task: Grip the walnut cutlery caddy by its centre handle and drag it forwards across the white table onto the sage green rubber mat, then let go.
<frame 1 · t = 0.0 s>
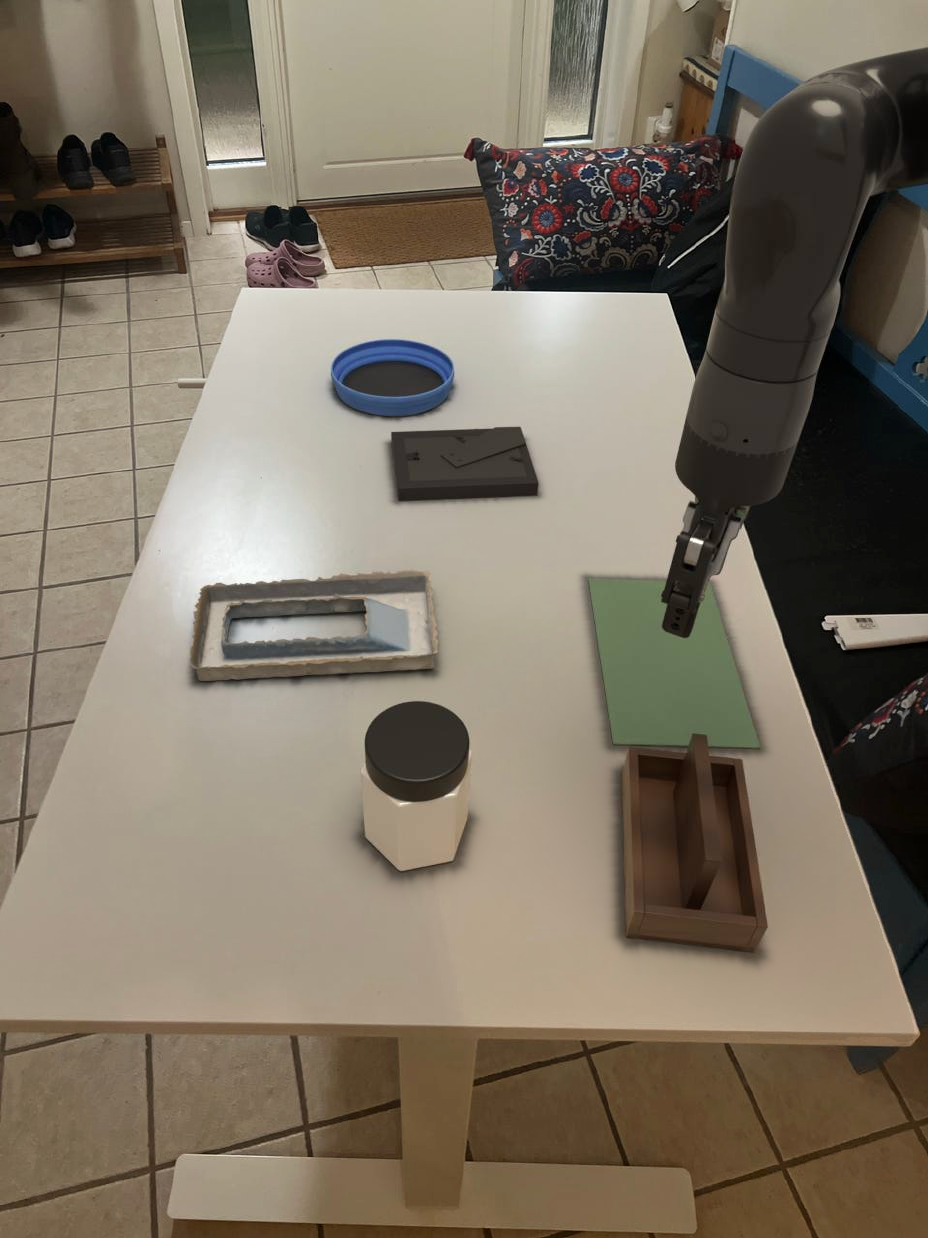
hand: (692, 599, 70), 19 cm above the table, tool pointing down, fingers open, 8 cm apart
picture frame 2: (316, 636, 93), on the table
jar: (416, 829, 76), on the table
cutlery caddy: (682, 856, 75), on the table
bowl: (393, 389, 132), on the table
mat: (665, 656, 93), on the table
picture frame: (462, 470, 117), on the table
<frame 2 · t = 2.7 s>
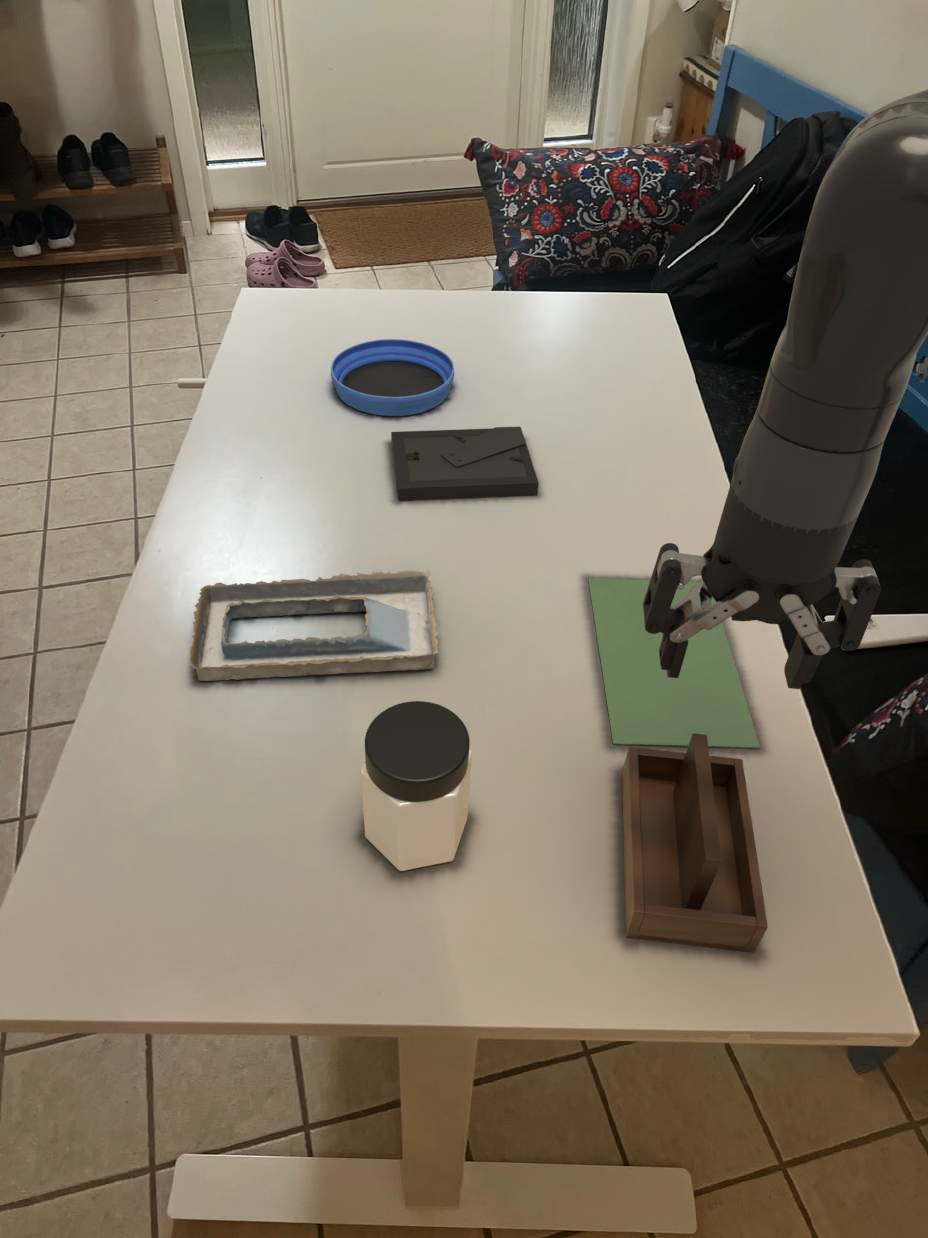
hand: (731, 674, 64), 20 cm above the table, tool pointing down, fingers open, 8 cm apart
nothing on the table moved.
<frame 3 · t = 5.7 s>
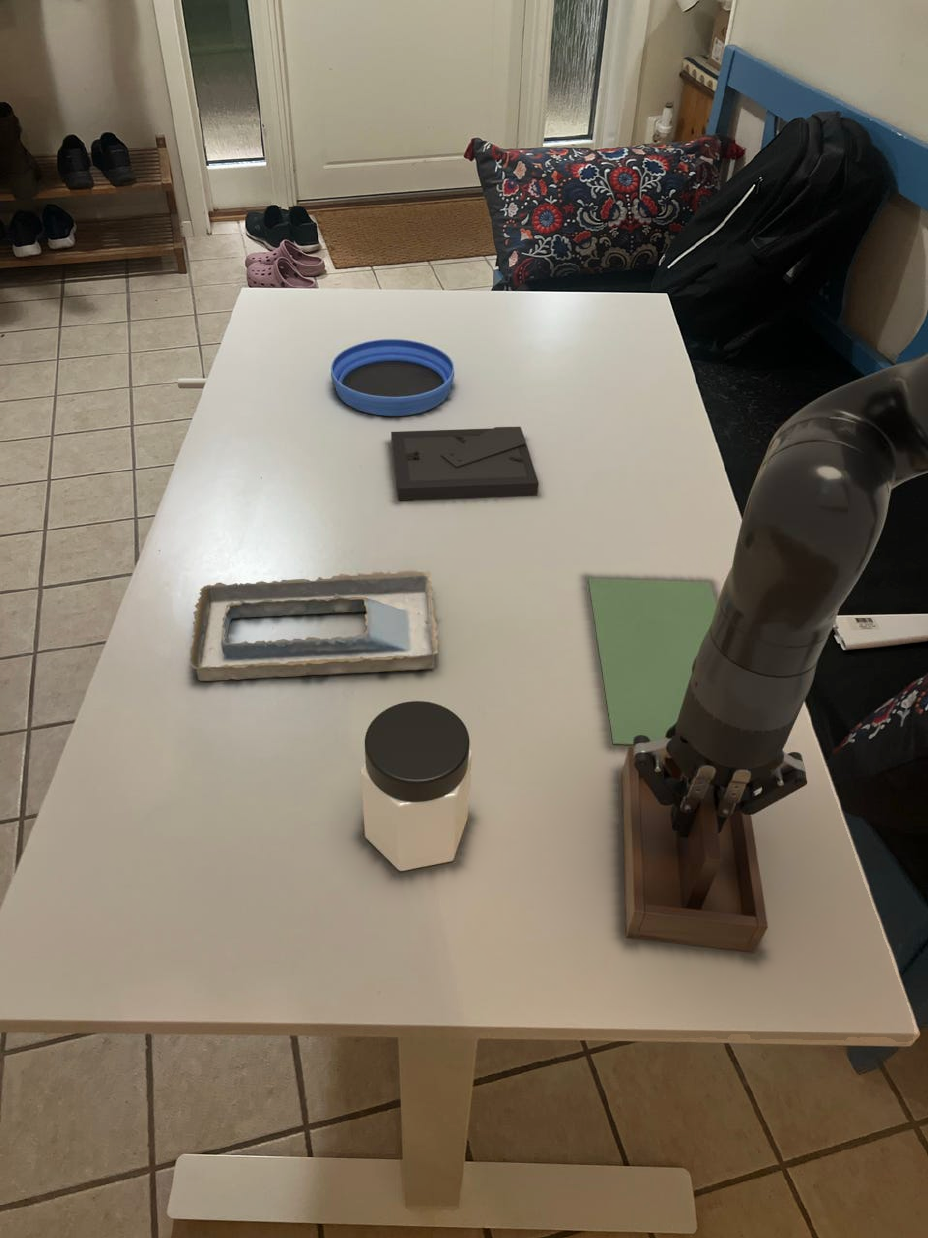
hand: (693, 829, 73), 4 cm above the table, tool pointing down, fingers closed on cutlery caddy
cutlery caddy: (682, 856, 75), on the table, touching gripper
everything else where it was.
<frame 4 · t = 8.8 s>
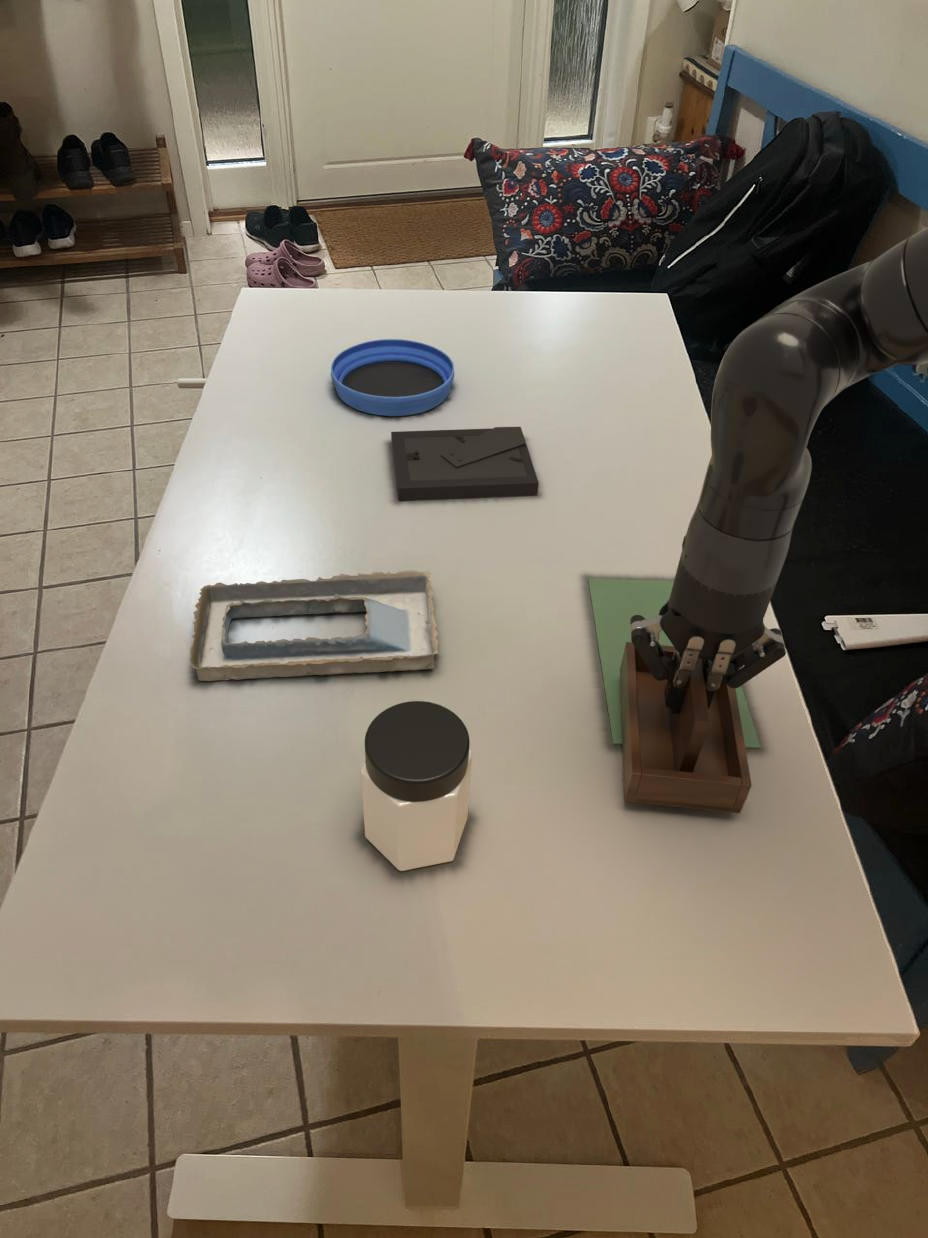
hand: (684, 707, 80), 5 cm above the table, tool pointing down, fingers closed on cutlery caddy
cutlery caddy: (675, 736, 83), point 1 cm above the table, touching gripper
everything else where it was.
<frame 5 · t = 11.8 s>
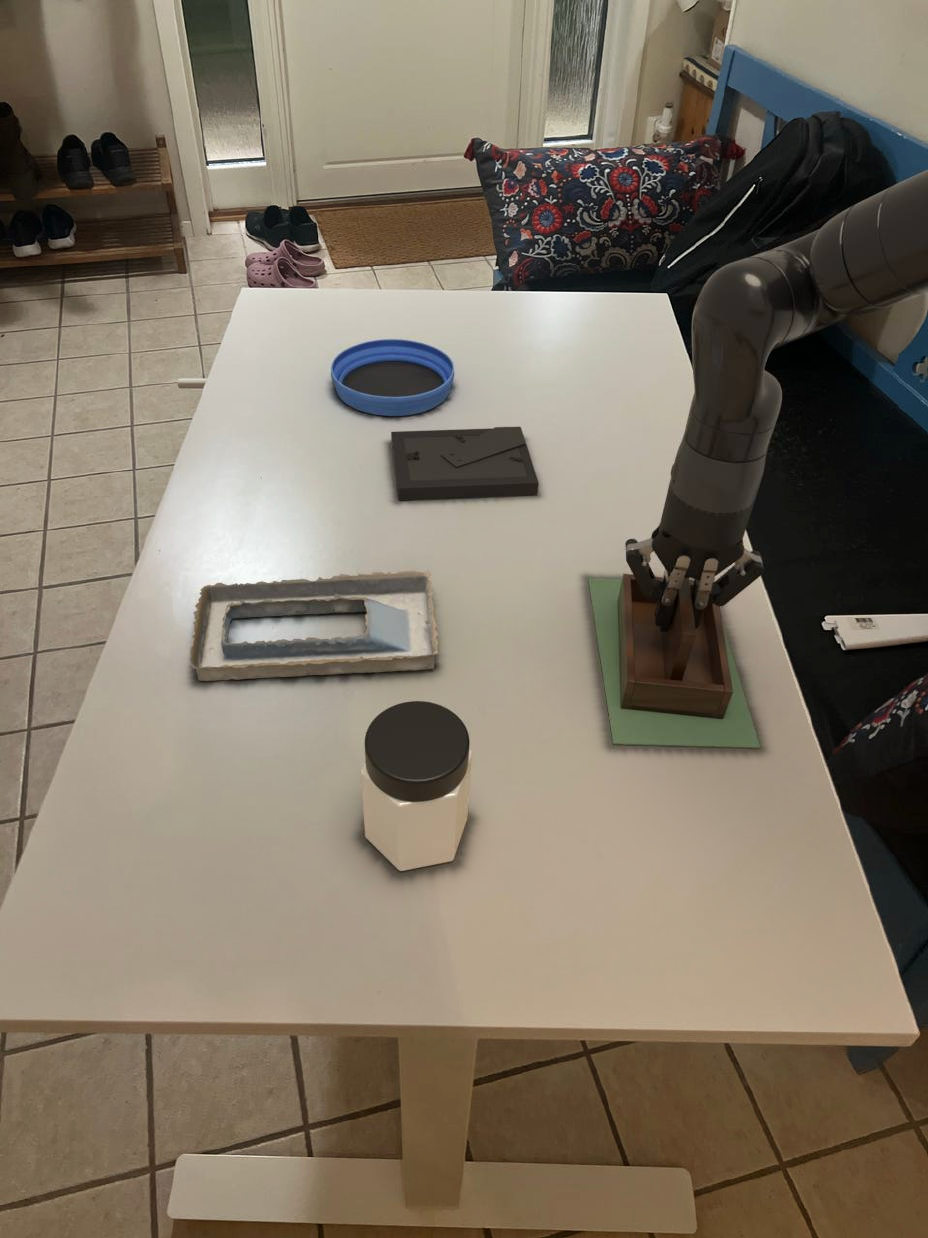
hand: (674, 626, 90), 4 cm above the table, tool pointing down, fingers closed
cutlery caddy: (666, 656, 92), resting on mat
everything else where it was.
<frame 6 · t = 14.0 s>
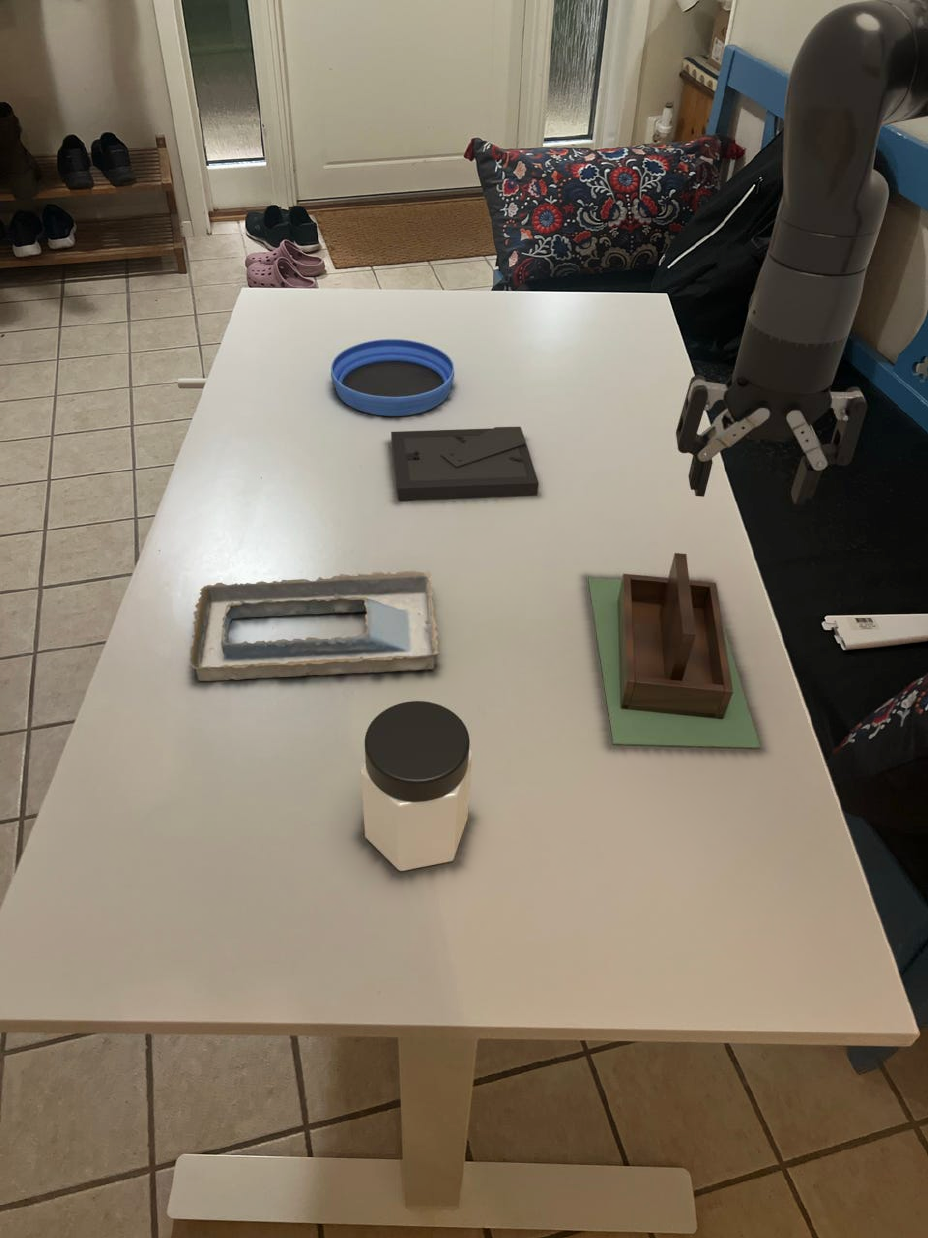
hand: (747, 495, 78), 21 cm above the table, tool pointing down, fingers open, 8 cm apart
nothing on the table moved.
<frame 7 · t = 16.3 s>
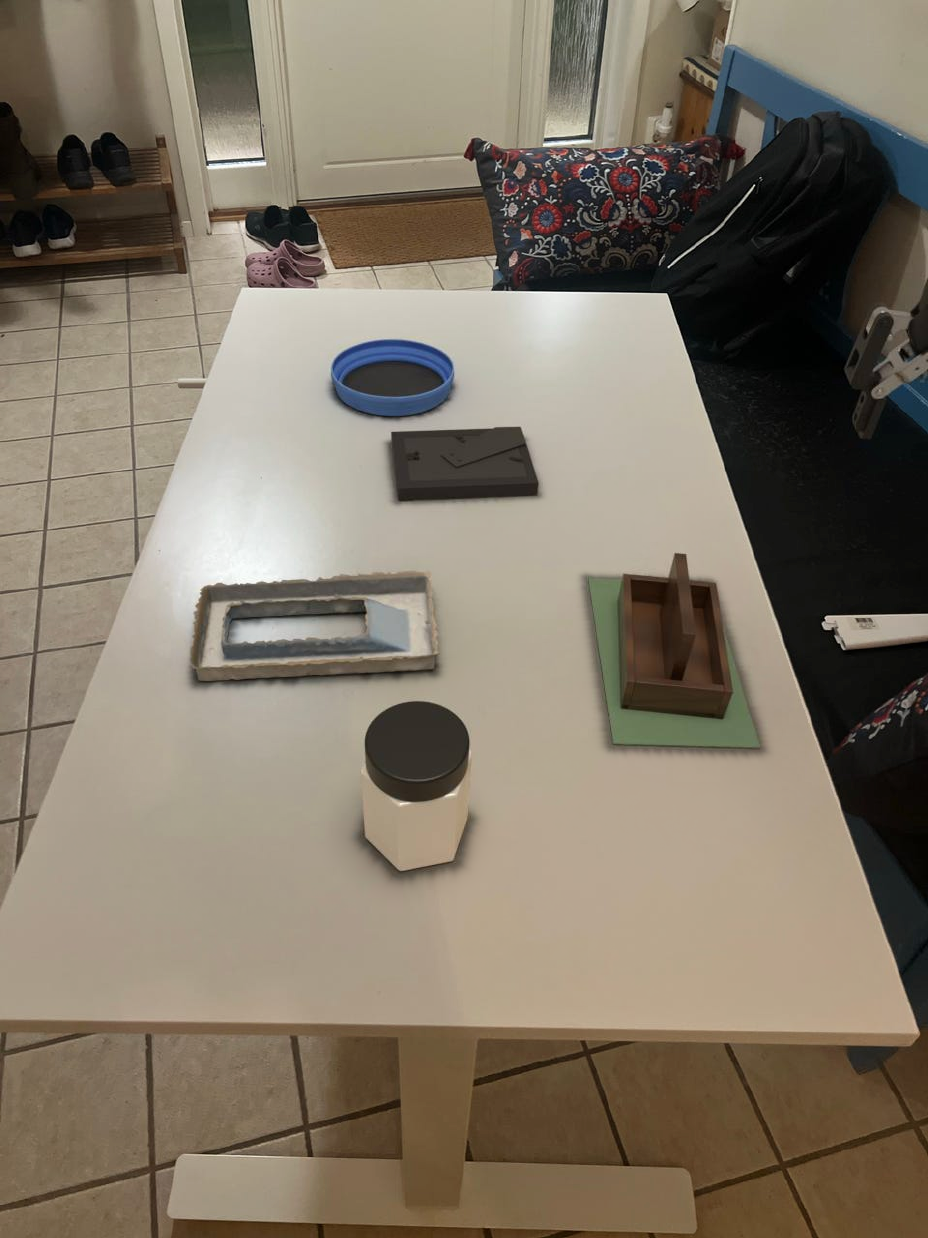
hand: (915, 438, 72), 28 cm above the table, tool pointing down, fingers open, 8 cm apart
nothing on the table moved.
at the end: cutlery caddy inside the target area on the mat (0.2 cm from its centre), point 0.2 cm above the mat's base; cutlery caddy tilted 0°; the gripper is holding nothing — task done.
